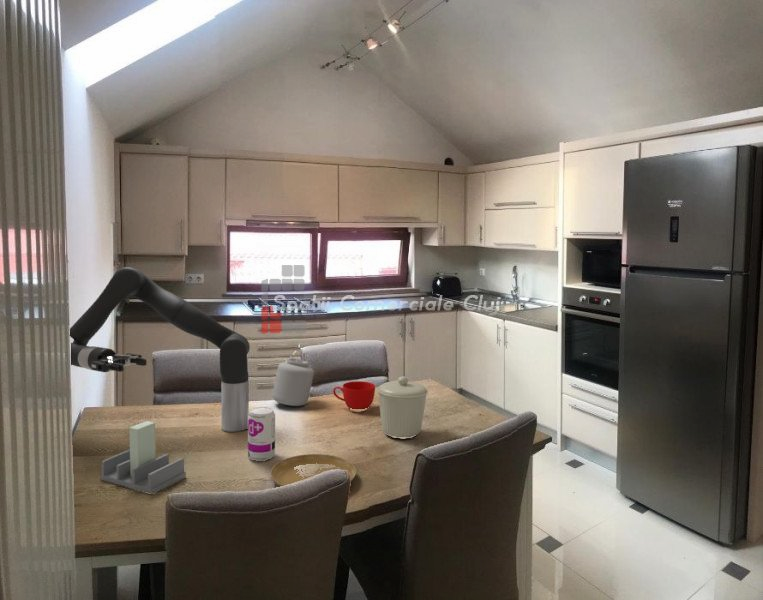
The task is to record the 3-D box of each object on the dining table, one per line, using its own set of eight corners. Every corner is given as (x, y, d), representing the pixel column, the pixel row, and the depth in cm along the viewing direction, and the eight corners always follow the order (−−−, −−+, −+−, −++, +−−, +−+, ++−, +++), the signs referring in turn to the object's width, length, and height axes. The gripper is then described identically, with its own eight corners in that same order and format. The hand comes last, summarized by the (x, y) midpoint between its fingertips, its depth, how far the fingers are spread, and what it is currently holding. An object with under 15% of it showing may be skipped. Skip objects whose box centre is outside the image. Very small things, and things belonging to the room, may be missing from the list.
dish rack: (100, 479, 149) (100, 460, 148) (136, 463, 160) (135, 445, 159) (152, 495, 141) (151, 475, 141) (185, 477, 152) (185, 458, 152)
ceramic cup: (336, 403, 224) (337, 379, 222) (376, 405, 221) (377, 382, 220) (329, 412, 211) (329, 388, 210) (371, 416, 209) (372, 391, 207)
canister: (437, 435, 191) (439, 377, 188) (403, 448, 178) (406, 386, 175) (398, 422, 203) (400, 367, 201) (365, 433, 190) (366, 375, 187)
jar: (306, 396, 232) (307, 339, 229) (324, 405, 220) (325, 345, 217) (266, 402, 221) (266, 343, 218) (281, 413, 209) (282, 350, 206)
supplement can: (261, 464, 162) (262, 416, 160) (242, 458, 166) (242, 411, 164) (280, 455, 169) (280, 409, 167) (261, 449, 173) (261, 404, 171)
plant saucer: (317, 456, 170) (317, 446, 169) (373, 481, 154) (373, 470, 154) (252, 481, 152) (253, 469, 151) (309, 511, 136) (309, 499, 136)
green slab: (130, 476, 148) (129, 427, 147) (148, 468, 154) (147, 420, 152) (138, 478, 147) (137, 429, 146) (155, 470, 153) (154, 422, 151)
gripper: (76, 351, 164) (114, 357, 158) (116, 343, 177) (152, 349, 171) (77, 375, 165) (114, 382, 158) (116, 365, 178) (153, 372, 171)
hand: (134, 365), depth 164 cm, fingers open, 8 cm apart
